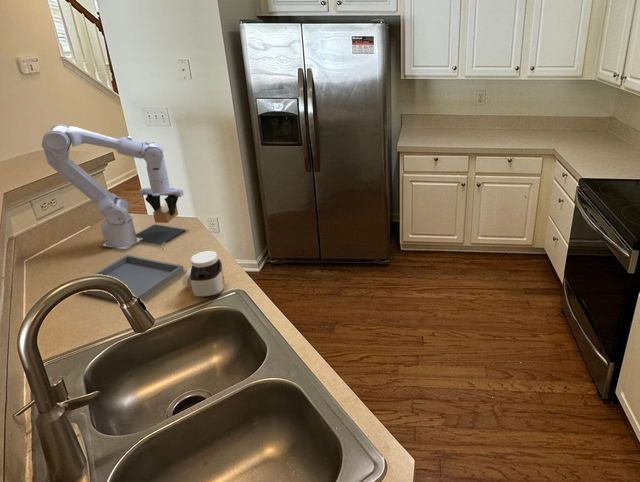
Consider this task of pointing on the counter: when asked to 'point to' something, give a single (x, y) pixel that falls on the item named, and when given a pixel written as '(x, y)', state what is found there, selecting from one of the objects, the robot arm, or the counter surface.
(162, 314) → the counter surface
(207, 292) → the spread jar
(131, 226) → the robot arm
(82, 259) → the counter surface
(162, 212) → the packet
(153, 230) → the mat
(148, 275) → the tray
